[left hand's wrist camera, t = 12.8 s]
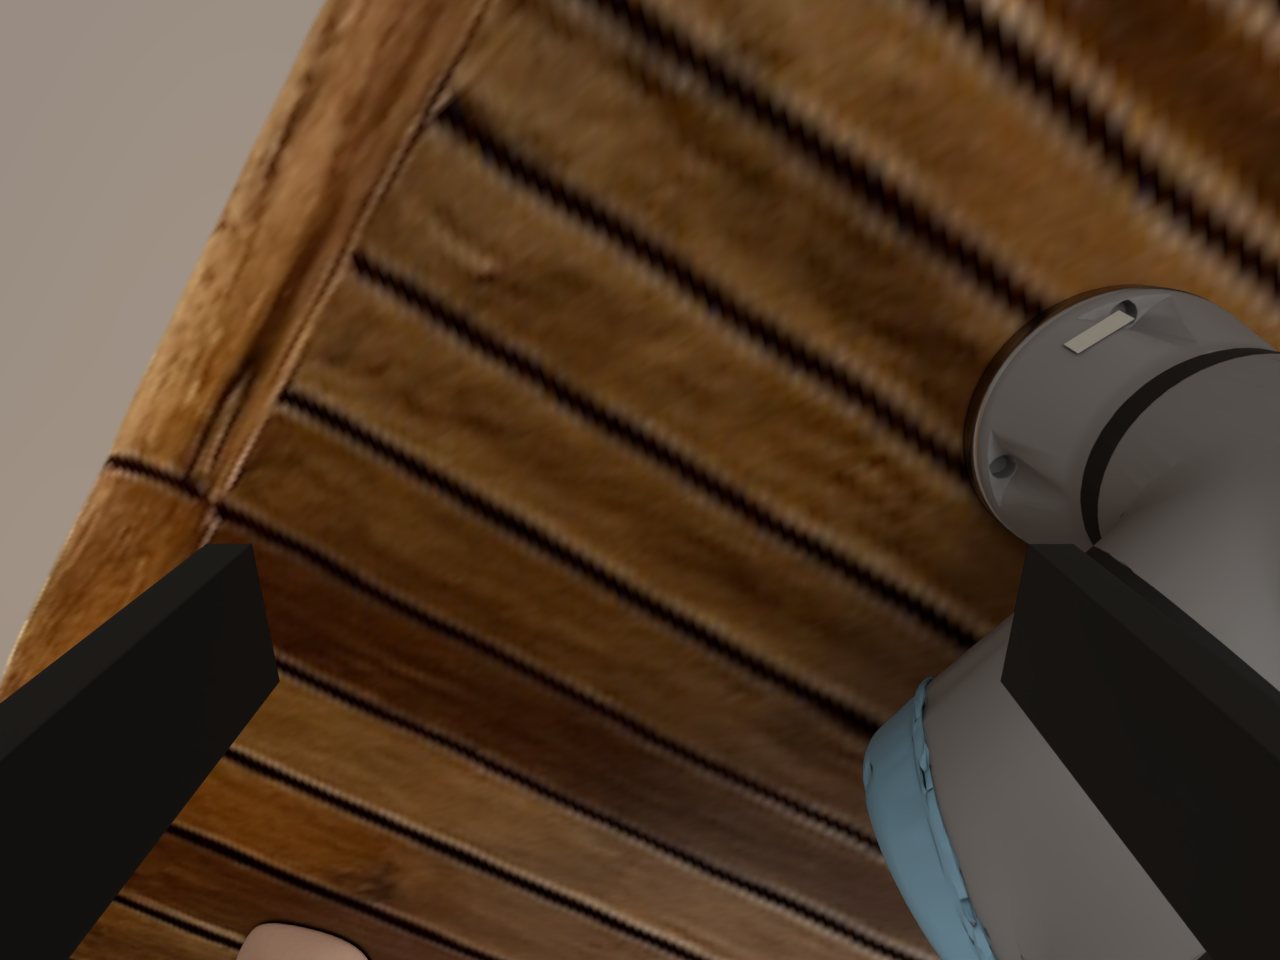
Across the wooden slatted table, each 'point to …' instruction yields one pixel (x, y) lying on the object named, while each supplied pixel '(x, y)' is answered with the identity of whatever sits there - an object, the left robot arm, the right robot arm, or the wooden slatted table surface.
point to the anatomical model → (295, 944)
